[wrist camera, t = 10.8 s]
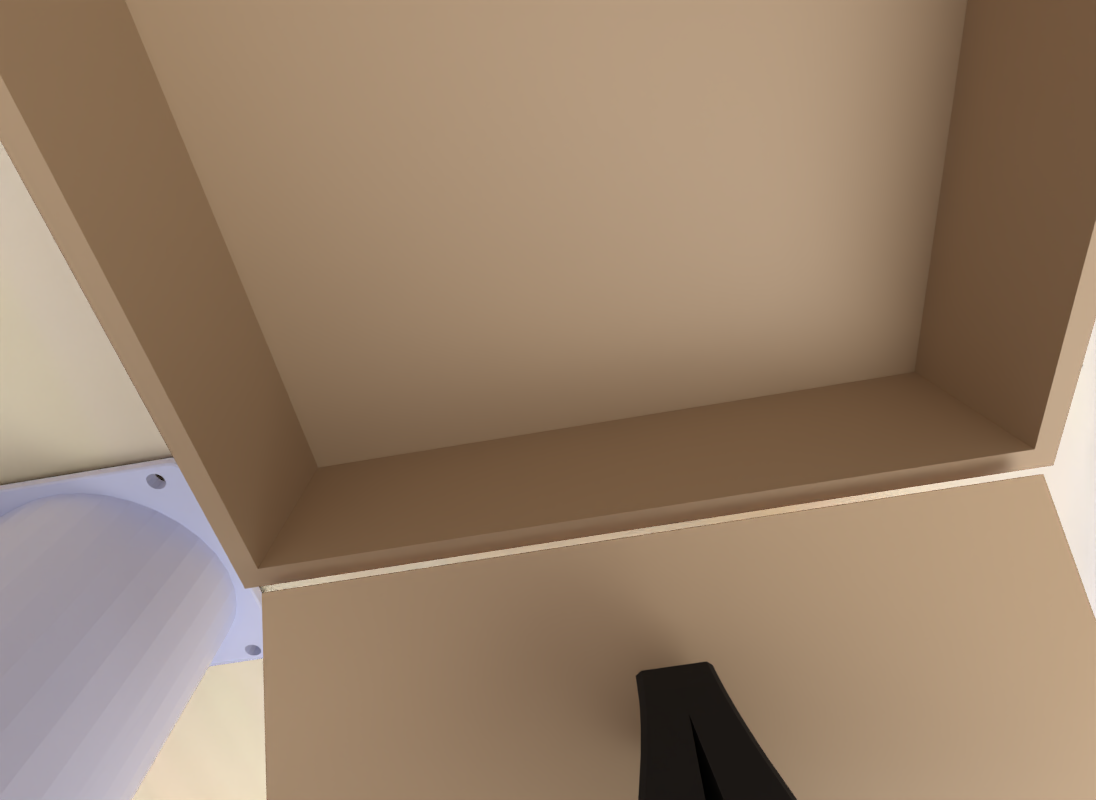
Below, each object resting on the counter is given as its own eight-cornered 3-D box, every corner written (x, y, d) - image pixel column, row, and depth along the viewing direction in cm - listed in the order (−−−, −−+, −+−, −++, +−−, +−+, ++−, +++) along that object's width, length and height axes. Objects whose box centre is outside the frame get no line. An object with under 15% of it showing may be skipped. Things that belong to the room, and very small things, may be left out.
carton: (312, 476, 17) (244, 588, 13) (-50, -379, 9) (-494, -768, 5) (921, 379, 16) (1053, 465, 12) (1072, -634, 9) (1560, -1306, 5)
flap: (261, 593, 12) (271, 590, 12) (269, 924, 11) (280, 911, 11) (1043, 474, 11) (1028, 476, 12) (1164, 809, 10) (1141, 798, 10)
